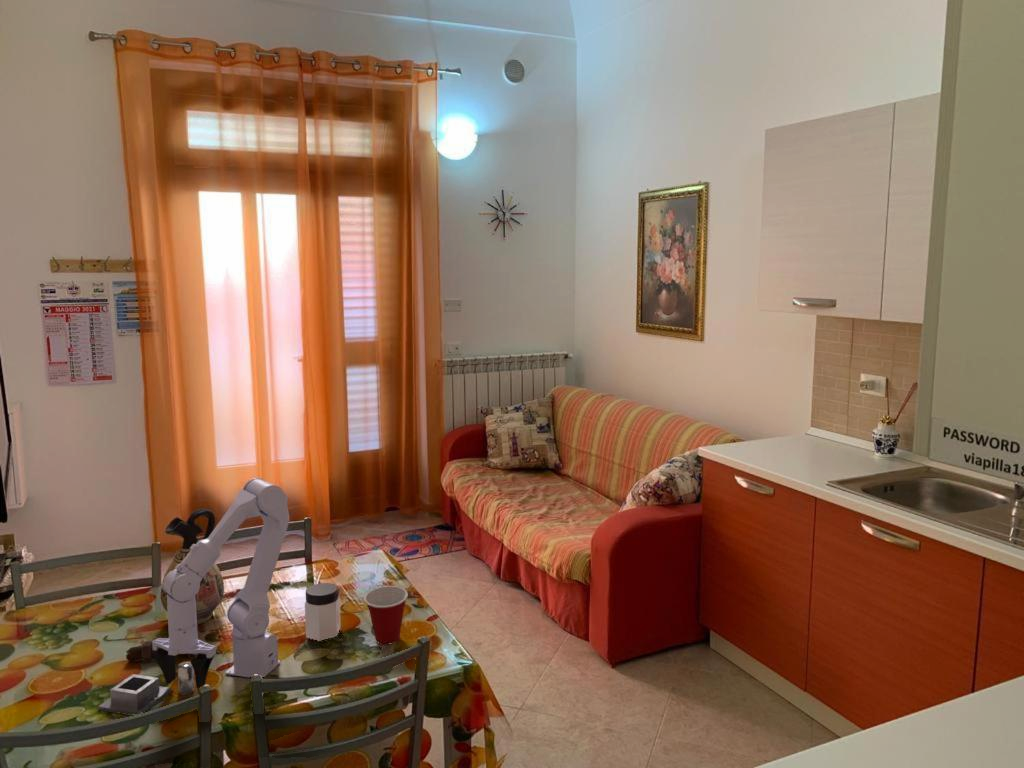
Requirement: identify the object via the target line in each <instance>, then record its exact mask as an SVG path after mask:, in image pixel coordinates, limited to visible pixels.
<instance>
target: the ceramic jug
mask: <svg viewBox="0 0 1024 768" xmlns="http://www.w3.org/2000/svg"><path fill="white" fill-rule="evenodd" d="M202 517H205V518H207V525H206V530H205V533H204V536H203V538H202V540H203V539H207V538H208V537H209V536H210V534H211V533H212V531H213V530H214V529H215V528H214V527H216V516H215V514H214V513H213V511H212V510H210V509H208V508H204V507H203V508H198V509H195V510H194V511H192V512H191V513H190V514H189V516H188V518H187V520H186V521H184V520H182V519H181V518H180V517H178V516H177V517H174V518H173V519H172V520H171V521H170V522H169V524H167V526H166V528H165V531H164V532H165V534H166V535H172V536H178V537H181V538H182V539H183V541H182V545H181V546H180V549H179V550H178V552H177V553H176V555H175V556H174V557H173V559H172V561H171V562H170V564H169V566H168V568H167V569H166V571H165V574H164V576H163V579H162V583H163V582H164V578H165V576H166V575H167V574H168V573H169V572H170V571H173V570H174V569H176V568H175V567H176V566H177V564H180V563H181V562H182V561H183V559H184V558H185V557H186V556H187V555H188V553H189V552H190V551H191V549H190V547H191V546H192V545H193V544H195V545H196V543H197V542H198V541H199V539H198V537H197V536H198V535H199V534H202V533H203V532H204V529H203V528H202V526H200V525H199V524H198V523H196V522H195V521H196V520H197V519H198V518H202ZM182 564H183V563H182ZM223 578H224V577H223V575H222V572H221V571H220V568H219V567H218V565H217V563H216V562H215V563H214V564H213V566H212V567H211V568H210V569H209V571H208V572H207V573H206V575H205V576H204V577H203V578H202V580H201V582H200V589H199V592H198V593H197V594H196V595H195V602H196V615H197V625H200V624H203V623H205V622H207V621H208V620H210V619H211V618H212V616H213V615H214V611H215V610H216V608H217V607H219V604H221V602H222V600H223V597H224V593H225V586H224V585H225V583H224V579H223ZM167 595H168V594H167V593H166V592H165V591H164V590H163V588H162V587H161V588H160V600H161V601H160V602H161V605H162V606H163V609H164V610H165V611H166V612H167ZM226 607H227V606H226Z"/></svg>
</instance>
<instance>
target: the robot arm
mask: <svg viewBox="0 0 1024 768" xmlns="http://www.w3.org/2000/svg"><path fill="white" fill-rule="evenodd" d="M288 499H289V497H288V495H287V493H285V491H284V490H283V489H282V488H281V486H279V485H276V484H273V483H271V482H268V481H267V480H266V479H264V478H261V477H253V478H251V479H249V480H248V481H247V482H246V483H245V484H244V486H243V488H241V489H240V490H239V491H238V492H237V494H236V495H235V499H234V501H233V502H232V504H231V505H230V507H229V508H228V510H227V511H226V512H225V514H224V515H223V516H222V517H221V519H220V521H218V523H217V524H216V525H215V526H214V527H215V528H214V529H213V531H212V533H211V534H210V536H209V537H208V538H207V539H203V538H202V539H200V540H199V539H198V542H197V543H196V545H195V544H193V545H192V546H191V547H190V549H191V551H190V552H189V553H188V555H187V556H186V557H185V558H184V559H183V561H182V562H181V563H180V564H177V566H176V567H175V568H176V569H174V570H173V571H170V572H169V573H168V574H167V575H166V576H165V578H164V577H163V579H164V582H163V581H162V583H161V588H163V590H164V591H165V592H166V593H167V594H168V595H167V611H166V613H167V625H168V626H167V627H168V638H166V637H164V638H163V637H162V638H161V637H158V638H156V639H155V640H153V641H152V645H153V650H157V653H156V654H154V655H153V661H155V663H157V665H158V666H159V668H160V670H161V672H162V674H163V677H164V679H165V683H166V684H171V682H174V681H175V680H176V677H177V666H176V664H177V661H176V660H177V655H178V654H179V655H181V654H182V655H187V653H189V654H196V656H195V657H194V658H192V660H190V662H191V664H192V666H193V670H194V682H195V686H196V687H195V688H196V689H201V688H202V687H203V686H205V685H206V682H207V676H208V672H209V669H210V666H211V664H212V661H213V660H214V658H215V656H216V655H217V648H216V647H217V646H216V645H214V644H213V645H212V644H209V643H207V642H205V641H203V640H201V639H199V633H198V624H197V615H196V602H195V595H196V594H197V593H198V592H199V589H200V582H201V580H202V578H203V577H204V576H205V575H206V573H207V572H208V571H209V569H210V568H211V567H212V566H213V564H214V563H215V564H216V562H217V560H218V559H219V558H220V557H221V549H222V546H223V545H224V543H226V542H227V540H228V539H229V538H230V537H231V536H232V535H233V533H235V532H236V531H237V529H238V528H239V527H240V526H241V525H242V523H243V522H244V521H245V520H247V519H252V518H256V517H260V518H261V519H262V520H263V525H262V526H261V527H262V528H261V532H260V534H259V537H258V541H257V545H256V548H255V552H254V553H253V557H252V561H251V563H250V567H249V570H248V573H247V577H246V580H245V583H244V586H243V588H242V589H241V590H239V591H238V592H236V596H235V597H234V598H235V599H234V600H233V601H232V602H231V604H230V605H229V607H228V609H227V612H226V618H227V619H228V621H229V623H230V624H232V631H231V635H232V637H231V638H232V639H231V640H232V657H233V665H232V666H231V667H230V668H229V669H228V670H226V671H225V674H226V675H230V676H238V677H244V678H250V676H252V675H254V674H258V675H261V676H262V677H264V678H265V677H266V676H267V675H268V674H269V673H271V672H272V671H273V670H274V669H275V668H276V667H278V665H280V664H281V660H279V651H278V650H279V646H278V638H277V636H276V635H275V634H274V633H271V632H269V631H267V629H268V627H269V624H270V615H269V613H270V609H271V603H270V600H269V595H268V592H269V590H270V586H271V583H272V580H273V576H274V573H275V569H276V566H277V563H278V559H279V557H280V554H281V549H282V546H283V543H284V540H285V537H286V533H287V530H288V527H289V523H290V520H291V519H290V512H289V508H288V501H289V500H288ZM182 563H183V564H182ZM250 679H251V678H250ZM201 686H202V687H201ZM200 687H201V688H200Z"/></svg>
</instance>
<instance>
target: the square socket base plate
mask: <svg viewBox="0 0 1024 768" xmlns="http://www.w3.org/2000/svg"><path fill="white" fill-rule="evenodd" d="M172 691H173V689H172V687H168V686H161V685H160V679H159V677H156V676H155V677H153V676H149V675H148V676H147V675H141V674H136V673H135V674H134V673H133V674H131V675H129V676H128V677H126V678H125V679H124V680H122V681H121V682H119V683H118V684H117V685H115V686H113V687H112V688H111V689H110V690H109V693H110V698H108V699H106V700H105V701H104V702H102V703H101V704H99V705H98V706H97V709H98V711H103V712H108V711H109V712H108V713H114V712H120V713H126V714H130V715H129V716H132V715H131V714H139V713H141V712H144V711H146V710H147V709H148V710H150V709H151V708H152V707H153V706H155V705H156V704H158V702H160V701H162V700H163V699H165V698H166V697H167V696H168V695H169V694H170V693H172ZM149 708H150V709H149ZM148 710H147V711H148ZM147 711H146V712H147ZM120 713H119V714H120ZM144 713H145V712H144ZM126 714H125V715H126Z"/></svg>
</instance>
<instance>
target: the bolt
mask: <svg viewBox="0 0 1024 768" xmlns="http://www.w3.org/2000/svg"><path fill="white" fill-rule="evenodd" d="M152 642H153V641H152V640H146V641H144V642H143V644H142V645H139V646H132V647H130V648H129V649H128V650H126V651H125V652H126V655H125V656H126V657H125V658H126V660H127V661H129V662H136V661H141V660H142V661H143V663H151V662H153V661H154V659H153V655H154V654H156V653H157V650H153V645H152ZM178 655H183V654H178ZM186 655H187V658H188V659H194V658H196V657H197V655H196V654H189V653H187V654H186Z"/></svg>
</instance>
